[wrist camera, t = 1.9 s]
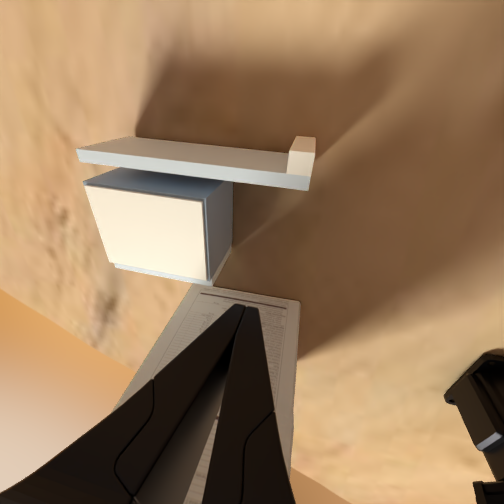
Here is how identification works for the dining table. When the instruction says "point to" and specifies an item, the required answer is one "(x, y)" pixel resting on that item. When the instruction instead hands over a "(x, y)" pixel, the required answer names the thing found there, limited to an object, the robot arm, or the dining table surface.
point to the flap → (209, 160)
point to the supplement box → (276, 345)
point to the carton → (164, 222)
